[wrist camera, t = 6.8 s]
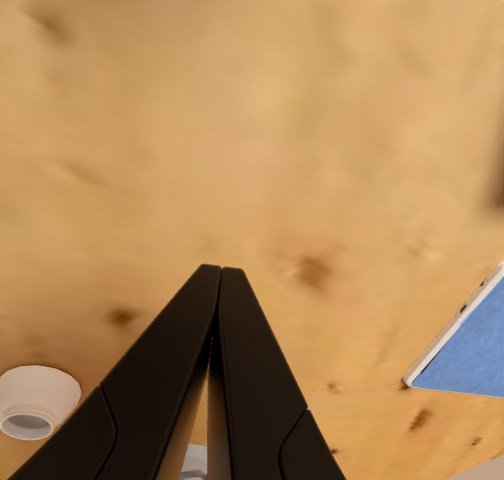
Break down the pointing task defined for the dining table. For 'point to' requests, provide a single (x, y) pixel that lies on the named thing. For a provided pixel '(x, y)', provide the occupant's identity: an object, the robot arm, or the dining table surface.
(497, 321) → the tablet computer
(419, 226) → the dining table surface
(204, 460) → the french press
